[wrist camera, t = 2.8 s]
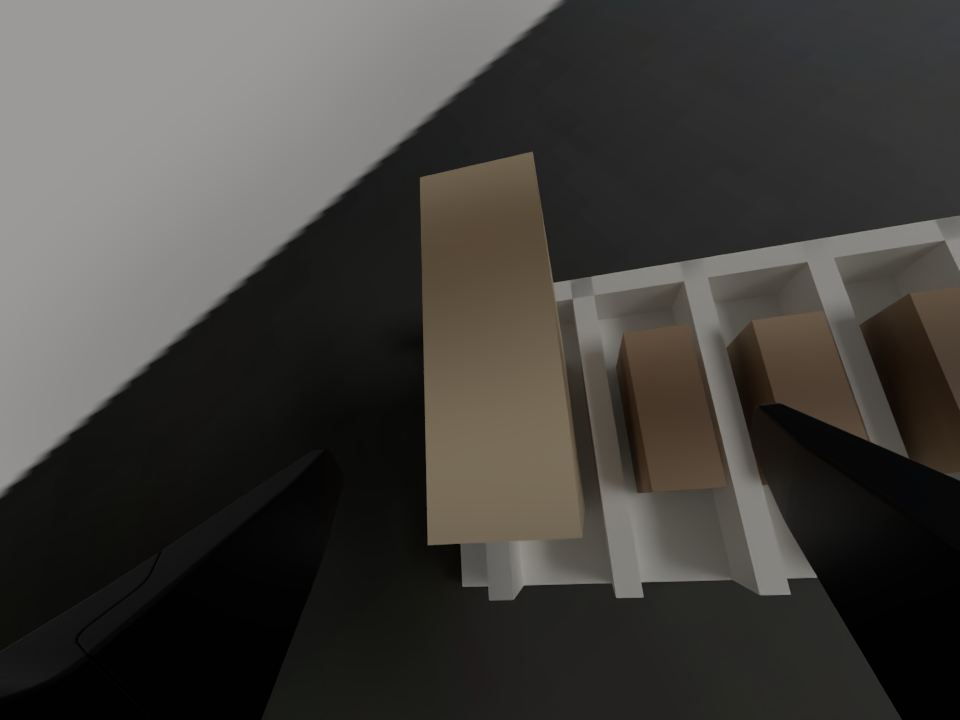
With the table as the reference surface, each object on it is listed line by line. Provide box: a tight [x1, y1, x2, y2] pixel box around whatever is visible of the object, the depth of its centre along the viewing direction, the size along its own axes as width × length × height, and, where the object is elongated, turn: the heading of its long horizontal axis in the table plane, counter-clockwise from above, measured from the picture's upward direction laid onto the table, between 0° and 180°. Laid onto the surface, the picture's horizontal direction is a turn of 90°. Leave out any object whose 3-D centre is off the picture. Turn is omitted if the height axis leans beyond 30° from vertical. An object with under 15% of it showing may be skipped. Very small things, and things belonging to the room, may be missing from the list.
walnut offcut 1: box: [616, 324, 727, 493], centre depth 15 cm, size 5×2×4 cm, turn 4°
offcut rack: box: [461, 216, 960, 600], centre depth 16 cm, size 11×19×3 cm, turn 94°
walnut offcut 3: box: [859, 286, 960, 473], centre depth 13 cm, size 5×2×4 cm, turn 4°
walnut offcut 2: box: [726, 311, 868, 485], centre depth 14 cm, size 5×2×4 cm, turn 4°
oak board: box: [420, 152, 585, 545], centre depth 12 cm, size 6×2×12 cm, turn 4°
